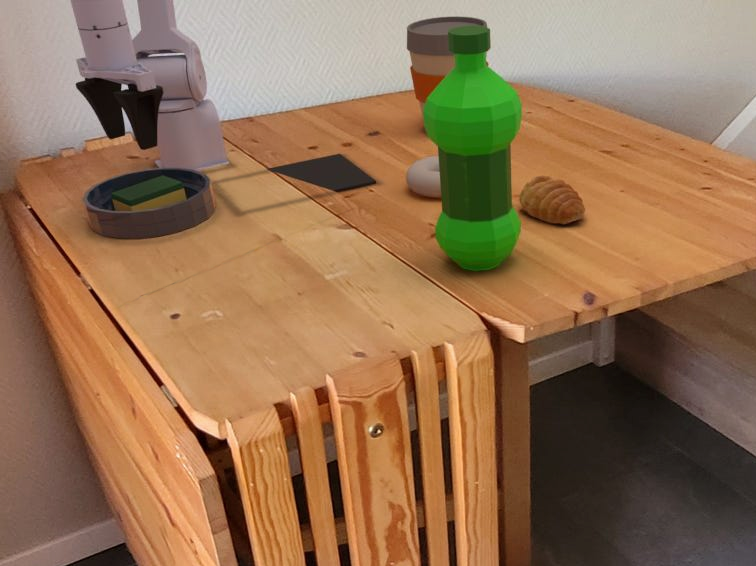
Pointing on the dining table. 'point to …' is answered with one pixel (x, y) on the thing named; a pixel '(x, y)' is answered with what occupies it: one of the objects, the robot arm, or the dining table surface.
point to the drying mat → (327, 173)
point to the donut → (425, 177)
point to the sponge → (149, 195)
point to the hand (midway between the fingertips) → (132, 142)
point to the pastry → (551, 200)
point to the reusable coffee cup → (433, 52)
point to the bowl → (149, 220)
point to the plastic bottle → (474, 154)
